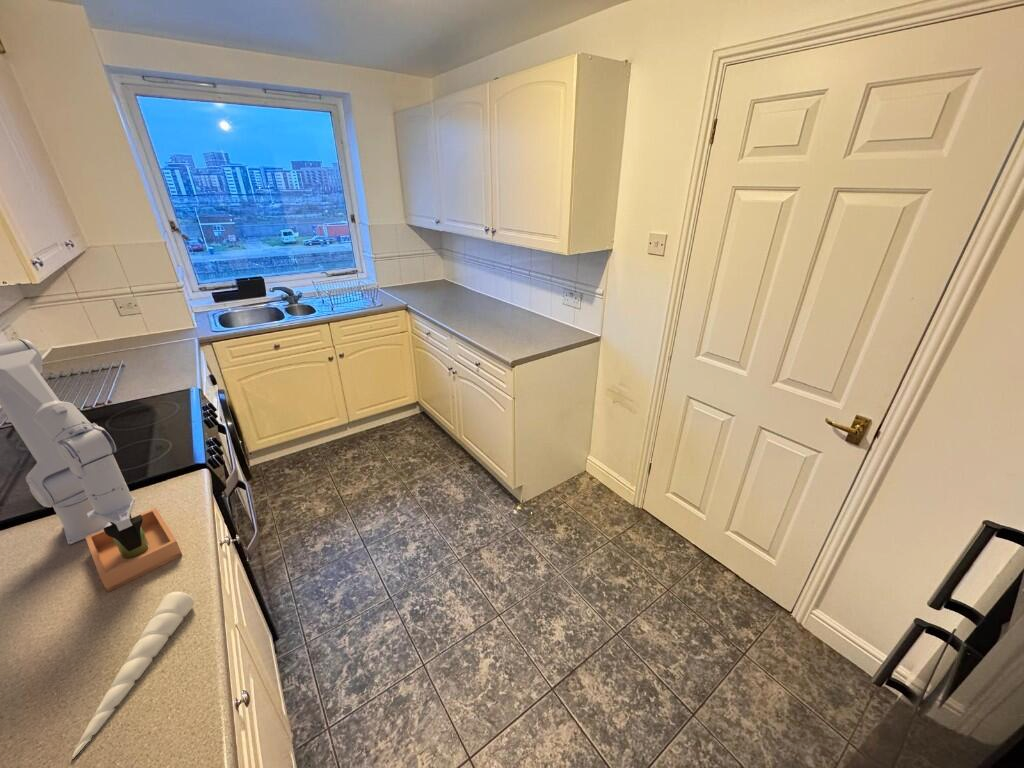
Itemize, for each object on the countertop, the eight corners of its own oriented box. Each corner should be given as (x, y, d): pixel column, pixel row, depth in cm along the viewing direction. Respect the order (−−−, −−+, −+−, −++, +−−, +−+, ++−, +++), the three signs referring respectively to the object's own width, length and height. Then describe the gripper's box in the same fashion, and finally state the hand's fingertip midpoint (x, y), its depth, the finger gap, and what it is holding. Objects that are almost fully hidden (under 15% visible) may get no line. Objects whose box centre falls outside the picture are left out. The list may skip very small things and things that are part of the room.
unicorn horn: (43, 764, 56) (27, 744, 54) (173, 607, 78) (164, 588, 76) (79, 764, 56) (64, 743, 54) (198, 606, 78) (191, 588, 76)
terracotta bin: (92, 551, 89) (85, 537, 88) (161, 521, 98) (155, 507, 96) (107, 592, 80) (99, 577, 78) (182, 555, 89) (176, 540, 87)
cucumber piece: (119, 551, 88) (106, 526, 85) (146, 539, 92) (134, 514, 89) (124, 562, 86) (111, 536, 83) (152, 549, 89) (140, 523, 86)
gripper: (72, 481, 83) (98, 533, 89) (84, 513, 75) (113, 569, 80) (118, 466, 88) (140, 516, 94) (134, 494, 80) (158, 547, 85)
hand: (130, 539), depth 87 cm, fingers open, 7 cm apart
